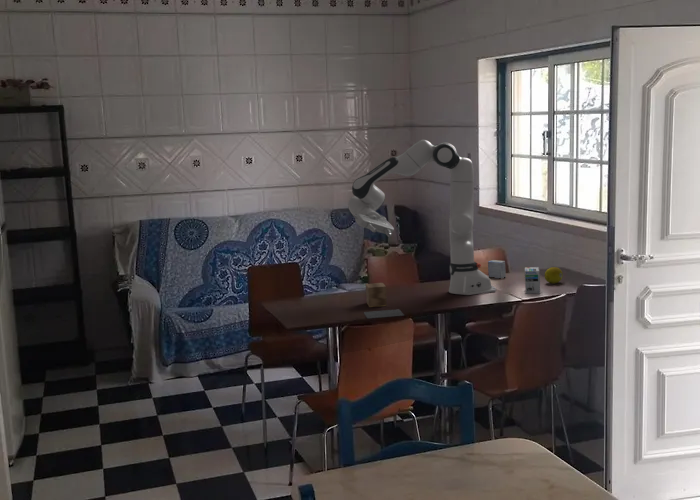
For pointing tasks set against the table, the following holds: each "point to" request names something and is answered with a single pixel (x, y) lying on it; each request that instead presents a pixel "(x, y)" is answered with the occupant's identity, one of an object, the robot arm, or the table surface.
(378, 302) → the letter block
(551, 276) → the lemon
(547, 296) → the table surface
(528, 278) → the light bulb box
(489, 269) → the medicine box
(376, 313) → the charcoal mat
